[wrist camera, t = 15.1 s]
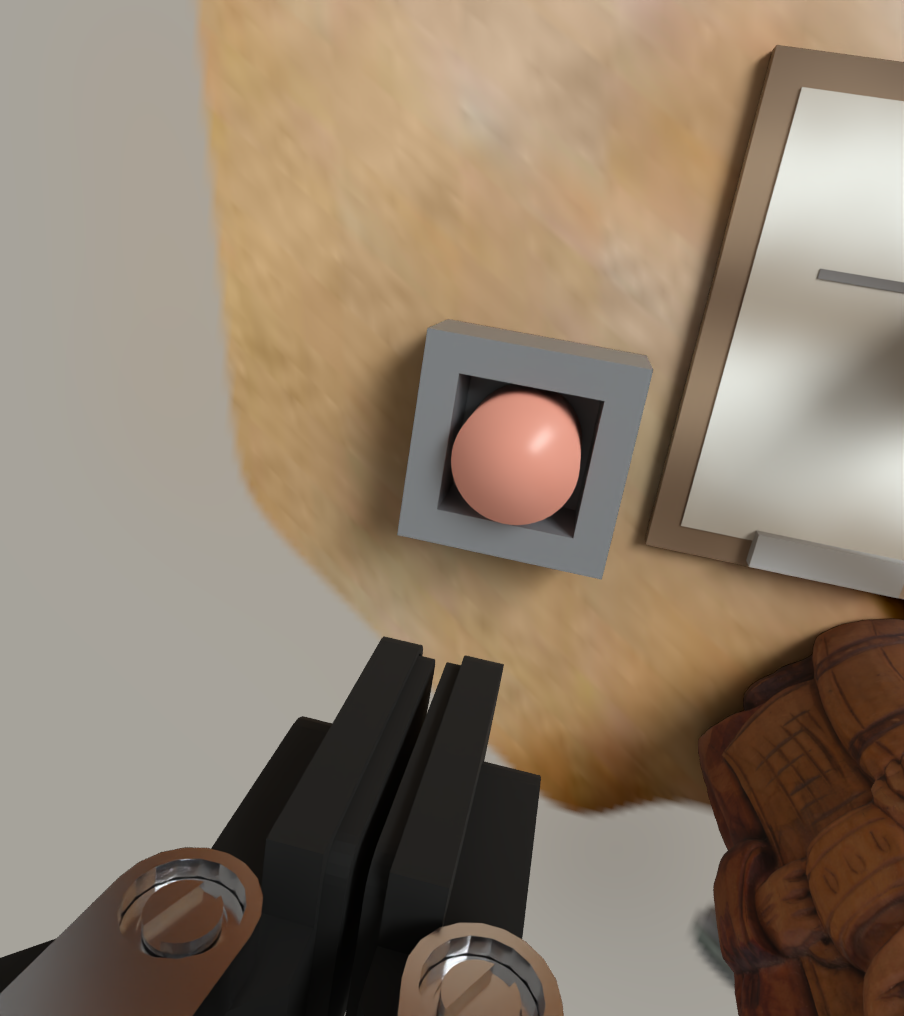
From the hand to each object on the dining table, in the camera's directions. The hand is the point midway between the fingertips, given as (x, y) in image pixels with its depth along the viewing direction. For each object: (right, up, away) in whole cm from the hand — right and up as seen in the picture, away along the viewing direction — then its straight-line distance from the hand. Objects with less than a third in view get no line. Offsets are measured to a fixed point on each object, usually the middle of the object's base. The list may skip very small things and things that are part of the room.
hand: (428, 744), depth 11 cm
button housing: (+3, +6, +18) cm, 19 cm away
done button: (+3, +6, +17) cm, 18 cm away
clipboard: (+14, +8, +15) cm, 22 cm away
